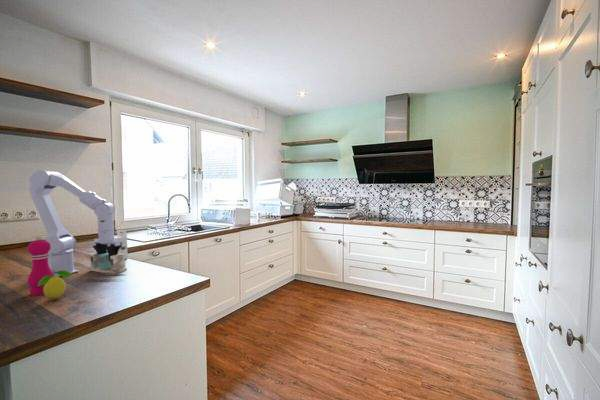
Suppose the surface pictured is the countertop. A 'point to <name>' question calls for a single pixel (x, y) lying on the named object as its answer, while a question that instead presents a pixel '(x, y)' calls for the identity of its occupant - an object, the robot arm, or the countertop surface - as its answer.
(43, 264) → the pepper mill
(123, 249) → the ink box
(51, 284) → the lemon
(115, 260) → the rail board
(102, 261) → the block
